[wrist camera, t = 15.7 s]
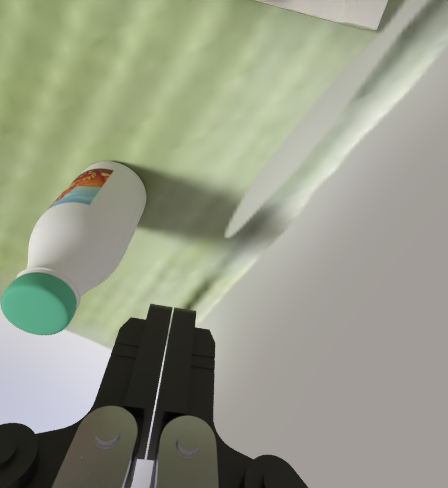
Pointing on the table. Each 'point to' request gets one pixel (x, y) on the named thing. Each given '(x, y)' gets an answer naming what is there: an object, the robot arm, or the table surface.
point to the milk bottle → (75, 247)
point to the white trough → (338, 10)
